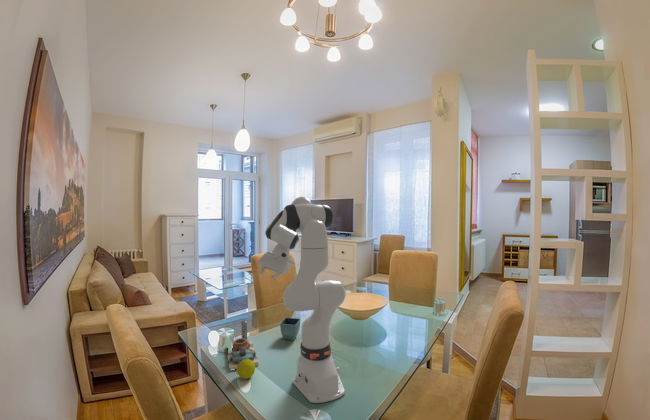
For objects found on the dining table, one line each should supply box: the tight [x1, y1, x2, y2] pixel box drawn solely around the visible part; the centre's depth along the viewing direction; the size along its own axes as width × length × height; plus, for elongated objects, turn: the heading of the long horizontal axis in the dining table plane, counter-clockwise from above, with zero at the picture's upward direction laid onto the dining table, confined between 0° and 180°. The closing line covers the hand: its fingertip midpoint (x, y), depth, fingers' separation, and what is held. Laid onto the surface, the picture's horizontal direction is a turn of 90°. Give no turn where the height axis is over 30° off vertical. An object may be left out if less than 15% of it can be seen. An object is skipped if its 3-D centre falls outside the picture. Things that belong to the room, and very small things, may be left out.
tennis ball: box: [236, 359, 256, 380], centre depth 119 cm, size 7×7×7 cm
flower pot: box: [279, 317, 302, 341], centre depth 154 cm, size 9×9×9 cm
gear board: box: [227, 337, 259, 370], centre depth 135 cm, size 22×12×6 cm, turn 22°
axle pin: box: [240, 320, 248, 340], centre depth 151 cm, size 3×3×10 cm
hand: (266, 276), depth 159 cm, fingers open, 8 cm apart
